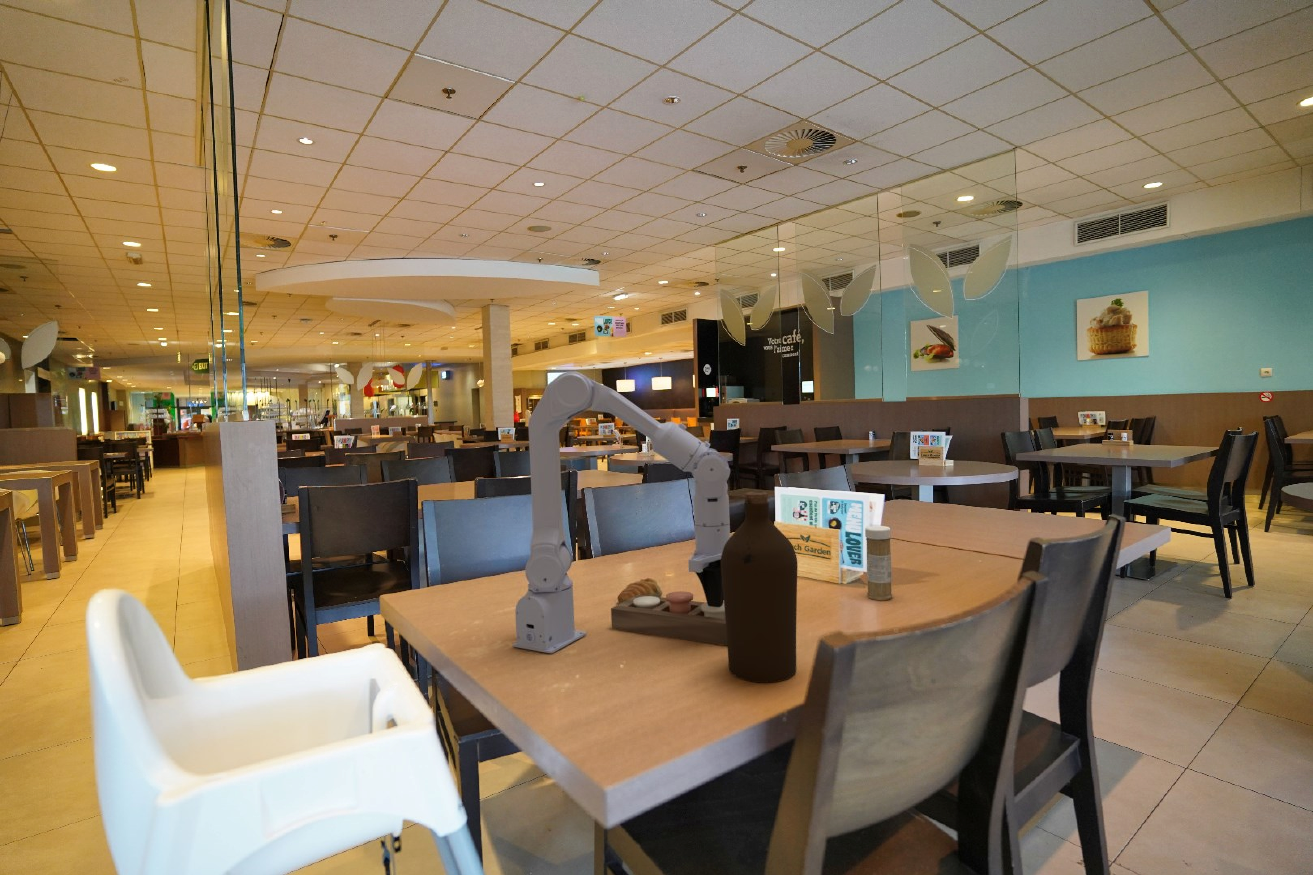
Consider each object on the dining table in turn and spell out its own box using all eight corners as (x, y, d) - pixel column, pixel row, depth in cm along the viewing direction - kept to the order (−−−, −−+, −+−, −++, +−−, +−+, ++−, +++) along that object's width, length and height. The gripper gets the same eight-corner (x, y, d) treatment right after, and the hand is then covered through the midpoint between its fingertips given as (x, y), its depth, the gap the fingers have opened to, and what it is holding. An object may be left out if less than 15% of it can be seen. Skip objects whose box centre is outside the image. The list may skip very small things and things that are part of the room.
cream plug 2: (723, 635, 105) (722, 611, 105) (697, 632, 107) (696, 607, 107) (734, 626, 109) (733, 603, 109) (709, 623, 111) (708, 600, 111)
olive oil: (811, 681, 88) (805, 495, 87) (733, 688, 87) (726, 499, 86) (787, 652, 98) (782, 486, 97) (718, 658, 97) (711, 490, 96)
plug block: (730, 646, 102) (730, 624, 102) (611, 628, 112) (610, 608, 112) (751, 628, 110) (750, 607, 109) (638, 613, 120) (637, 594, 120)
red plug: (686, 624, 108) (685, 600, 108) (662, 620, 110) (661, 597, 110) (698, 616, 112) (697, 592, 112) (674, 613, 114) (673, 590, 114)
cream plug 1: (652, 628, 111) (651, 605, 111) (629, 625, 113) (628, 602, 113) (665, 620, 115) (664, 597, 115) (642, 617, 117) (641, 595, 117)
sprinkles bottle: (875, 592, 127) (873, 524, 127) (897, 597, 124) (895, 526, 123) (862, 597, 124) (860, 527, 124) (883, 602, 121) (881, 530, 120)
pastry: (636, 610, 123) (635, 590, 123) (608, 605, 127) (607, 586, 127) (665, 597, 130) (664, 578, 130) (638, 593, 134) (637, 575, 134)
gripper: (716, 533, 99) (720, 621, 99) (751, 517, 111) (754, 596, 112) (675, 530, 102) (678, 616, 103) (713, 515, 115) (716, 592, 115)
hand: (715, 605), depth 108 cm, fingers closed, pressing on cream plug 2
